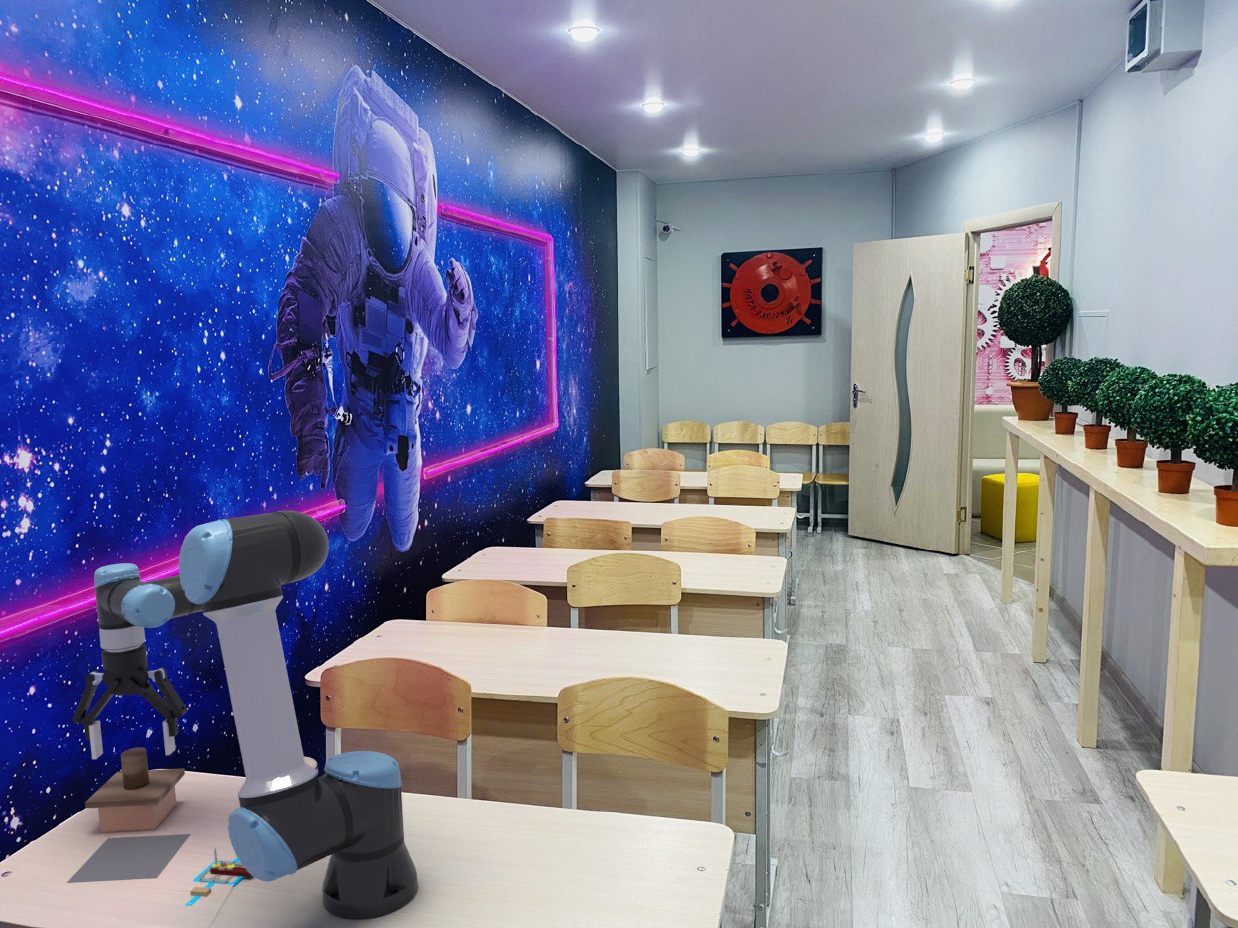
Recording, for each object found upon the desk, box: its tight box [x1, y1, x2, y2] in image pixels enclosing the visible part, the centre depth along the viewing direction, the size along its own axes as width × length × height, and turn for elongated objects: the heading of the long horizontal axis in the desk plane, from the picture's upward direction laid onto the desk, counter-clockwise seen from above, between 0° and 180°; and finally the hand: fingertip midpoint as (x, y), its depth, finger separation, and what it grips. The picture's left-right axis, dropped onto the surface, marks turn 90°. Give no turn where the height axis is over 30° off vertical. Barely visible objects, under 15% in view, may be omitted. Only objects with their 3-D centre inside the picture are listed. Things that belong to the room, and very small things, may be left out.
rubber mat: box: [66, 833, 191, 884], centre depth 172 cm, size 15×15×1 cm
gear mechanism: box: [184, 847, 253, 907], centre depth 166 cm, size 20×5×9 cm
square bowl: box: [97, 785, 177, 833], centre depth 186 cm, size 10×10×6 cm
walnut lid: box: [84, 747, 186, 809], centre depth 186 cm, size 13×13×8 cm
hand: (134, 754), depth 185 cm, fingers open, 13 cm apart
